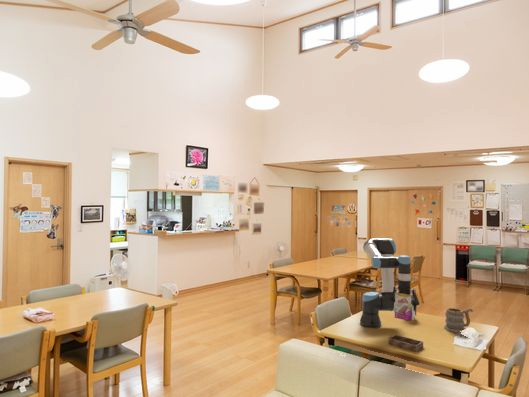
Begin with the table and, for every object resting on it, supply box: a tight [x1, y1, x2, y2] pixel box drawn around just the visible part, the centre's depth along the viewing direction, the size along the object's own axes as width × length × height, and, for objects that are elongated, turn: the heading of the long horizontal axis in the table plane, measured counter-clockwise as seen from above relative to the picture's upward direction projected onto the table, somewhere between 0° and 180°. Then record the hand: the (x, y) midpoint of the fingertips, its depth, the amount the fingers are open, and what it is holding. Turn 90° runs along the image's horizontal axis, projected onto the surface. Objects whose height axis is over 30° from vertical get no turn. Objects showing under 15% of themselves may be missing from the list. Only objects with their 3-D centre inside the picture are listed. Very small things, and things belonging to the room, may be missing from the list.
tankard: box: [443, 307, 474, 333], centre depth 273 cm, size 20×13×15 cm, turn 91°
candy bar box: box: [394, 291, 415, 322], centre depth 245 cm, size 11×5×16 cm, turn 51°
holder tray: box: [387, 334, 424, 352], centre depth 241 cm, size 18×10×4 cm, turn 45°
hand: (404, 313), depth 245 cm, fingers closed on candy bar box, 11 cm apart
